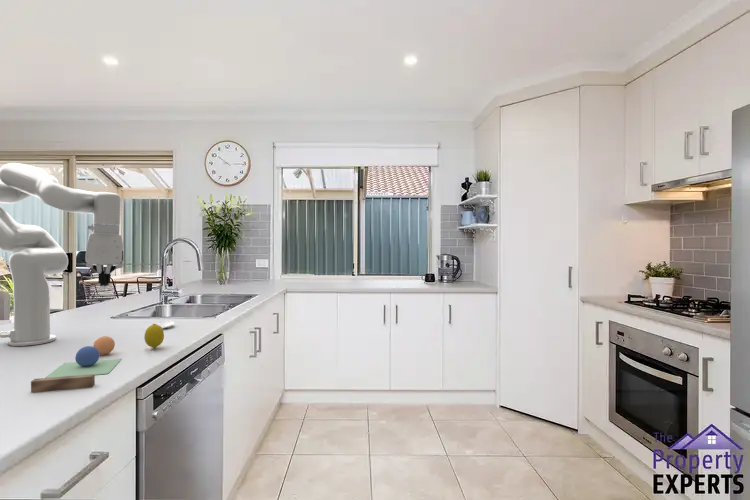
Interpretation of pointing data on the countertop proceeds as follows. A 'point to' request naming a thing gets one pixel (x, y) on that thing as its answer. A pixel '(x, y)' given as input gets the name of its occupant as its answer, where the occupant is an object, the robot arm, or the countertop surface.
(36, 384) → the rail
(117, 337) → the countertop surface
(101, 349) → the orange ball
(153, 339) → the lemon
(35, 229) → the robot arm
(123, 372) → the countertop surface
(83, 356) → the navy ball
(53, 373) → the green mark
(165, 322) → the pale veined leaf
